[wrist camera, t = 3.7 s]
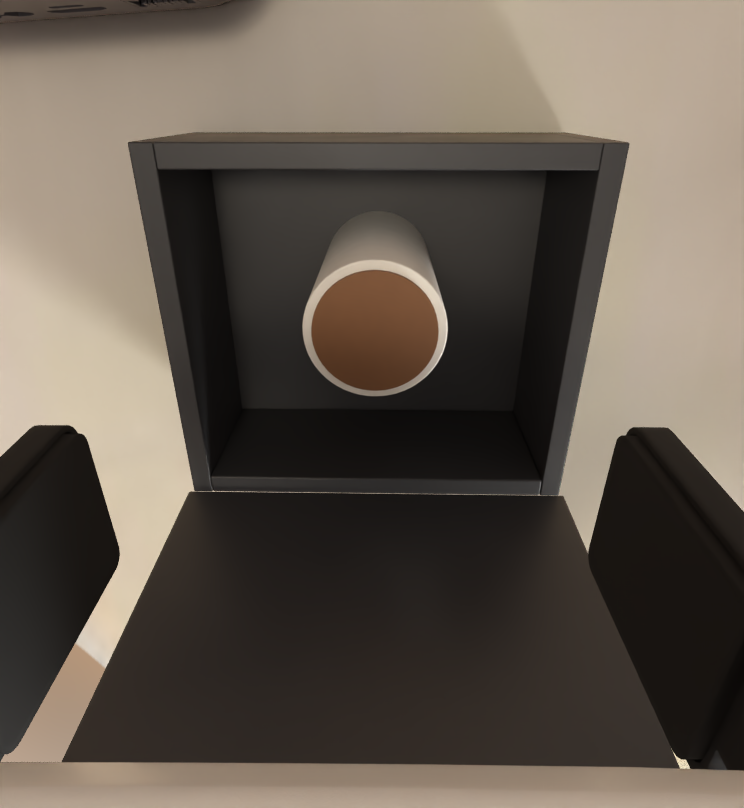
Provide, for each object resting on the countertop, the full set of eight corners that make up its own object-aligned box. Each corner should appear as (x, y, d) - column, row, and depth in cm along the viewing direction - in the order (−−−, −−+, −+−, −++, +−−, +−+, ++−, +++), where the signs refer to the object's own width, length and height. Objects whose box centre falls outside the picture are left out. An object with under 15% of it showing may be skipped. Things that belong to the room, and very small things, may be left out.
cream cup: (384, 187, 23) (384, 227, 16) (449, 270, 25) (477, 343, 17) (305, 257, 25) (270, 325, 17) (371, 331, 26) (366, 423, 19)
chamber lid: (-39, 969, 11) (36, 1035, 13) (777, 991, 10) (702, 1055, 13) (189, 490, 23) (206, 569, 25) (563, 495, 23) (545, 574, 25)
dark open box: (193, 132, 23) (127, 142, 17) (566, 132, 23) (630, 142, 17) (232, 413, 30) (193, 491, 24) (523, 416, 29) (558, 496, 23)
